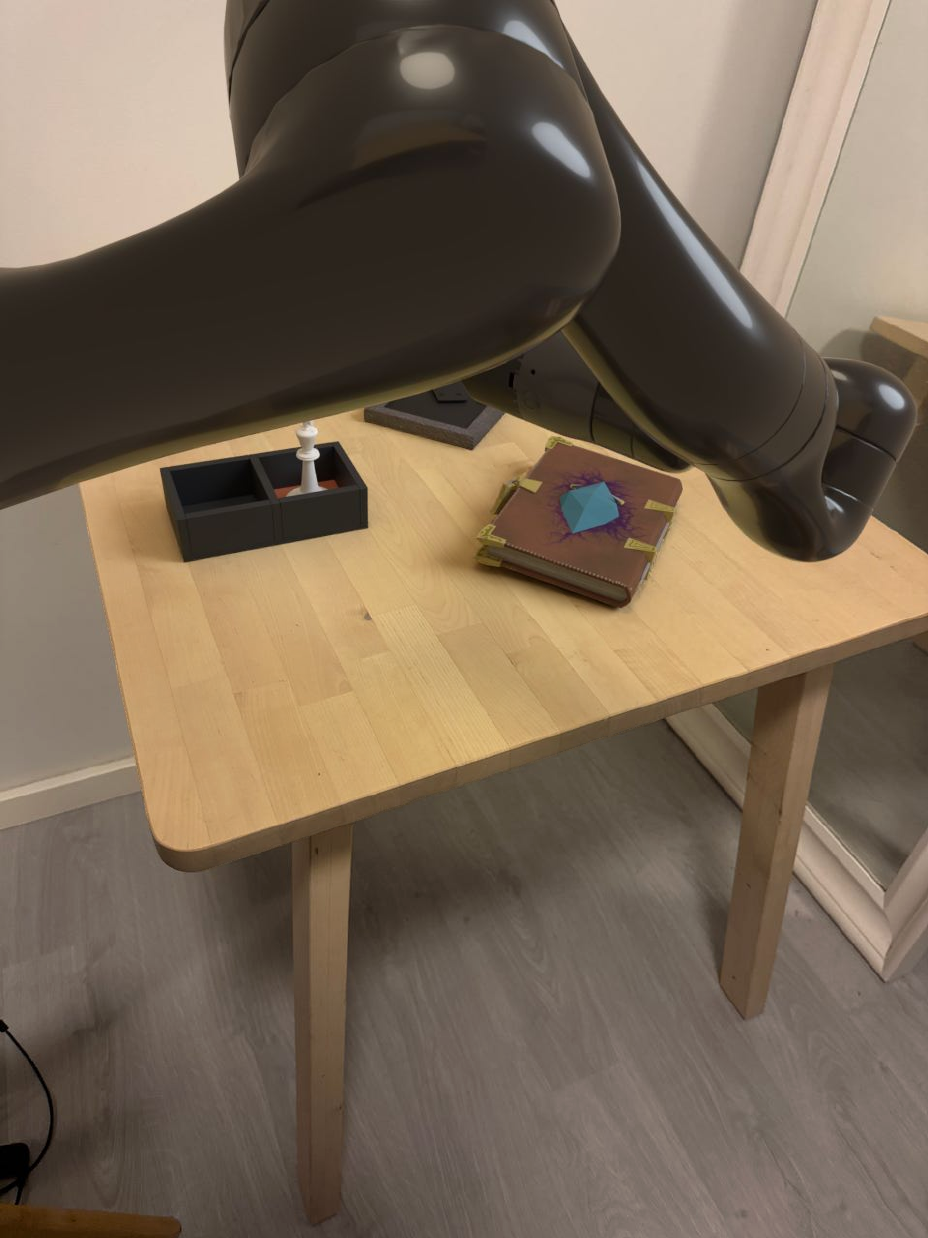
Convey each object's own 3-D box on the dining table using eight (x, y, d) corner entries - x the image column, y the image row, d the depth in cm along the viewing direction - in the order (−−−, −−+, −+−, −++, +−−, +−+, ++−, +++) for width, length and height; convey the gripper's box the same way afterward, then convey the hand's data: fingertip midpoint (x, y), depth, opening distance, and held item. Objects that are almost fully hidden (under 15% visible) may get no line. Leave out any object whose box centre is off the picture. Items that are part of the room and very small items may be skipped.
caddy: (183, 562, 80) (176, 520, 77) (166, 508, 86) (159, 467, 83) (368, 527, 86) (368, 487, 83) (339, 479, 92) (338, 440, 89)
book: (688, 490, 96) (702, 449, 93) (626, 624, 79) (640, 580, 75) (545, 444, 100) (554, 403, 97) (456, 563, 82) (462, 518, 79)
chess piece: (312, 485, 90) (307, 392, 83) (347, 505, 87) (344, 411, 81) (273, 504, 87) (265, 410, 80) (308, 525, 84) (303, 430, 78)
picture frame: (430, 361, 115) (364, 420, 102) (431, 346, 114) (364, 404, 101) (528, 385, 111) (472, 449, 98) (530, 370, 110) (474, 433, 97)
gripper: (623, 272, 57) (420, 210, 63) (494, 339, 47) (273, 258, 54) (603, 383, 61) (416, 315, 68) (482, 463, 52) (280, 375, 59)
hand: (353, 290), depth 61 cm, fingers open, 8 cm apart
